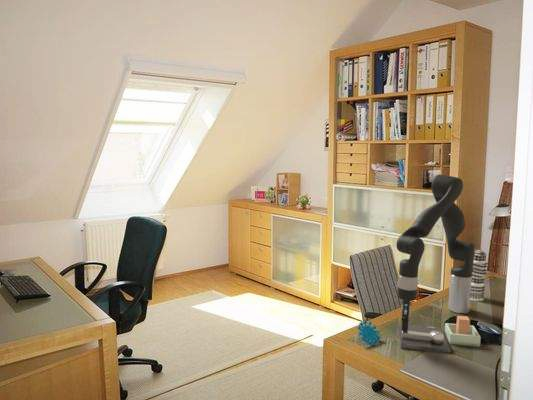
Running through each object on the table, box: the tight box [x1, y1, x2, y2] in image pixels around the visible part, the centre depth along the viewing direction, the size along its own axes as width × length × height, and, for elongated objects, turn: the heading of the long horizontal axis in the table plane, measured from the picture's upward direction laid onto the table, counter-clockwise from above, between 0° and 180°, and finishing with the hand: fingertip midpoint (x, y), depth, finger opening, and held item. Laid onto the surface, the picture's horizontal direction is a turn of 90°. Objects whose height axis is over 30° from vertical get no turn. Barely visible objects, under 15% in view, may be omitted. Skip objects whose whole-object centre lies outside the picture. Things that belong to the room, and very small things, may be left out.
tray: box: [444, 322, 481, 347], centre depth 177 cm, size 11×11×4 cm
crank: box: [402, 317, 445, 344], centre depth 172 cm, size 16×5×9 cm, turn 74°
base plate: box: [395, 323, 452, 354], centre depth 177 cm, size 20×18×2 cm
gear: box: [357, 320, 382, 346], centre depth 175 cm, size 11×6×10 cm
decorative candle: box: [470, 249, 488, 302], centre depth 225 cm, size 9×9×25 cm
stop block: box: [455, 315, 471, 335], centre depth 177 cm, size 4×4×8 cm
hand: (404, 328), depth 174 cm, fingers closed on crank, 2 cm apart
